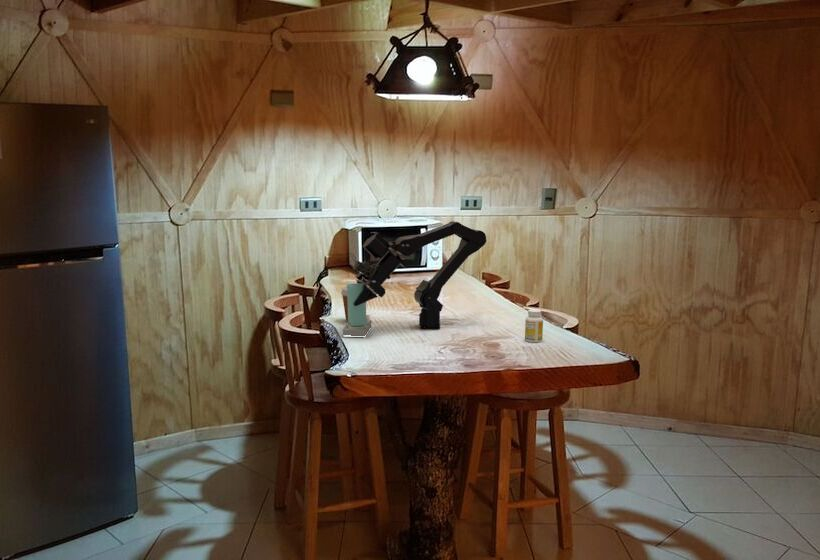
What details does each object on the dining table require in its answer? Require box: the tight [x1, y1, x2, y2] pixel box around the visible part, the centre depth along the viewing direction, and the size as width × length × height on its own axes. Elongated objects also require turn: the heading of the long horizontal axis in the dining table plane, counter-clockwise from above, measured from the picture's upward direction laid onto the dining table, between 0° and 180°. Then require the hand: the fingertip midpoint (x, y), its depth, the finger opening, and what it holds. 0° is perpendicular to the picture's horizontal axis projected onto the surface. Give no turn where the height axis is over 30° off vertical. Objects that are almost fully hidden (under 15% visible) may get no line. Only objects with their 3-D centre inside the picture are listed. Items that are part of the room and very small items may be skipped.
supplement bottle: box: [524, 308, 544, 343], centre depth 193 cm, size 5×5×10 cm
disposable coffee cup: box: [340, 286, 348, 322], centre depth 219 cm, size 10×10×12 cm
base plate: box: [342, 314, 372, 336], centre depth 205 cm, size 8×14×4 cm, turn 175°
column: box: [346, 282, 367, 326], centre depth 202 cm, size 5×5×13 cm
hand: (352, 303), depth 202 cm, fingers open, 5 cm apart
